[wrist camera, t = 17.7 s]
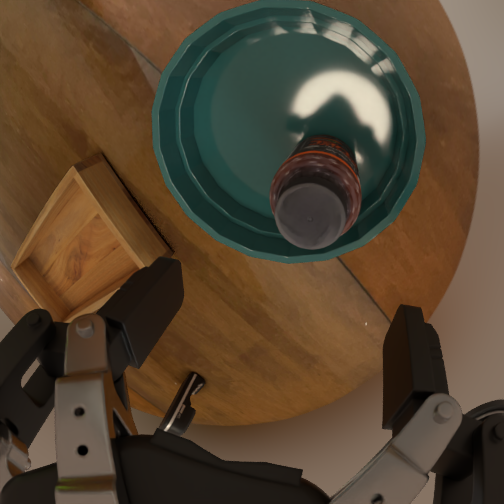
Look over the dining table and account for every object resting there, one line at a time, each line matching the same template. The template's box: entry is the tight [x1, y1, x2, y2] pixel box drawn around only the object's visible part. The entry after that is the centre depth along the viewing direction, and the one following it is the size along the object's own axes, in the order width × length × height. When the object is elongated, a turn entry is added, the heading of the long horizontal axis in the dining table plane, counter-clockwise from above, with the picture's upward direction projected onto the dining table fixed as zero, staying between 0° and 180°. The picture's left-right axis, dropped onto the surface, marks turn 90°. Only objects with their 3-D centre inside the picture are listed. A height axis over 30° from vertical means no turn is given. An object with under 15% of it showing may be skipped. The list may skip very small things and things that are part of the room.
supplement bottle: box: [269, 135, 361, 250], centre depth 21 cm, size 6×6×11 cm
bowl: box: [152, 0, 426, 264], centre depth 23 cm, size 20×20×6 cm
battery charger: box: [159, 373, 205, 436], centre depth 46 cm, size 7×4×11 cm, turn 153°
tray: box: [11, 154, 173, 323], centre depth 39 cm, size 31×15×6 cm, turn 125°
